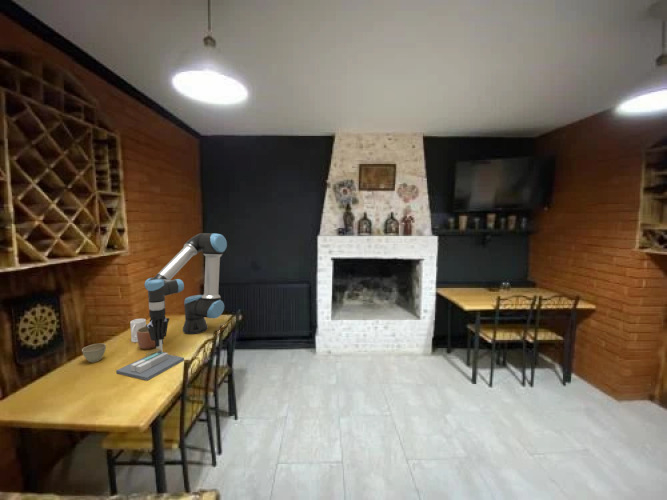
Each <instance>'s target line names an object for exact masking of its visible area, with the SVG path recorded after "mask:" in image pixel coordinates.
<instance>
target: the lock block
mask: <svg viewBox="0 0 667 500" xmlns="http://www.w3.org/2000/svg"><path fill="white" fill-rule="evenodd" d="M157 351H161V350H160V349H156V348H153V349H152V350H150V351H148V352H146V353H145V357H146V358H147V357H149V356H151V355H153V354H155V353H157Z"/></svg>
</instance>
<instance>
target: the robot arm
mask: <svg viewBox="0 0 667 500" xmlns="http://www.w3.org/2000/svg"><path fill="white" fill-rule="evenodd" d="M227 246H228V242H227V240H226V237H225V236H224V235H223V234H222V233H221V234H220V233H216V232H215V233H206V232H202V233H201V232H200V233H198V234H196V235H194V236H192V237H191V238H189V240H187V241H186V242H185V243H184V244H183V248H181V250H180V251H179V252H177V254H175V256H174V257H173V258H172V259H170V261H169V262H167V264H166V265H165V266H164V267H162V269H161V270H160V271H159V272H158V273H157V274H156V275H155V276H154V277H149V278H147V279H146V280H145V282H144V288H145V289H146V290H147V296H148V297H147V298H148V309H149V313H148V314H149V318H150V319H149V323H148V324H146V327H147V328H148V331H149V334H150V337H151V340H153V341H155V346H156V347H155V349H160V350H161V352H164V350H163V345H164V340H165V338H166V337H167V332H168V326H169V321H170V318H168V317H166V315H167V314H166V299H165V298H166V296H170V295H173V294H179V293H181V292H183V290H184V289H185V284H184V281H183V280H181V279H180V278H177V279H175V278H174V279H173V277H175V276H176V275H177V273H179V271H181V269H182V268H183V267H184V266H185V265H186V264H187V263H188V262H189V261H190V260H191V258H192V257H194V256H196V255H198V254H199V253H200V252H202V253H203V256H205V260H204V261H205V262H204V263H205V267H204V285H203V288H204V289H203V290H204V291H203V294H196V295H190V296H187V297H186V298H185V299H184V303H183V306H184V319H185V320H184V324H183V327H182V332H183V333H184V334H187V335H196V334H197V335H198V334H201V333H204V332H206V331H207V330H208V327H209V326H208V323H207V321H206V318H207V319H218V318H219V317H220V316H221V315H222V314H223V312H224V310H225V304H224V301H222V299H221V295H220V294H219V289H220V288H219V287H220V286H219V285H220V284H219V283H220V262H221V257H222V256H223V253H224V252H225V251H226V250H227ZM152 325H153V326H152ZM153 328H154V329H153Z"/></svg>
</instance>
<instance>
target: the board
mask: <svg viewBox="0 0 667 500" xmlns="http://www.w3.org/2000/svg"><path fill="white" fill-rule="evenodd" d="M162 352H163V353H162V354H160V355H158V356H156V357H154V358H152V359H150V360H148V361H146V362H144V363H142V364H140V365H138V366H136V370H137V371H135V372H134V371H131V365H132V364H134V363H136V362H138V361H140V360H142V359H144V358H146V356H144V357H142V358H139V359H138V360H136V361H133V362H132V363H129V364H126V365H125V366H123V367H121V368H118V369H116V370H115V371H116V374H117V375H121V376H125V377H130V378H134V379H139V380H143V381H146V382H148V381H150V380H151V379H153V378H155V377H157V376H158V375H161V374H163V373H164V372H165V371H168V370H169V369H171V368H172V367H173V368H174V367H175V366H177V365H178V364H180V363H182V362H184V361H185V357H182V356H178V355H172V354H169V352H165V351H162ZM157 353H161V351H157Z"/></svg>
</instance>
